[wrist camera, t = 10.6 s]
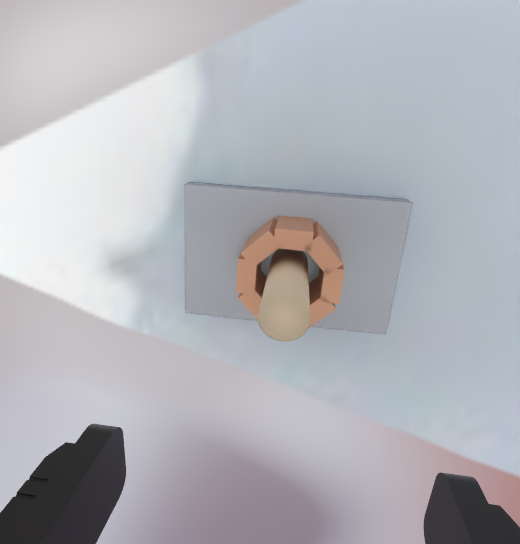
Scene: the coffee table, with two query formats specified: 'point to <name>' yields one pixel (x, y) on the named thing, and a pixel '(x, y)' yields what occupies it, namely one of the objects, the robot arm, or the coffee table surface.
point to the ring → (294, 237)
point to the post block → (293, 256)
